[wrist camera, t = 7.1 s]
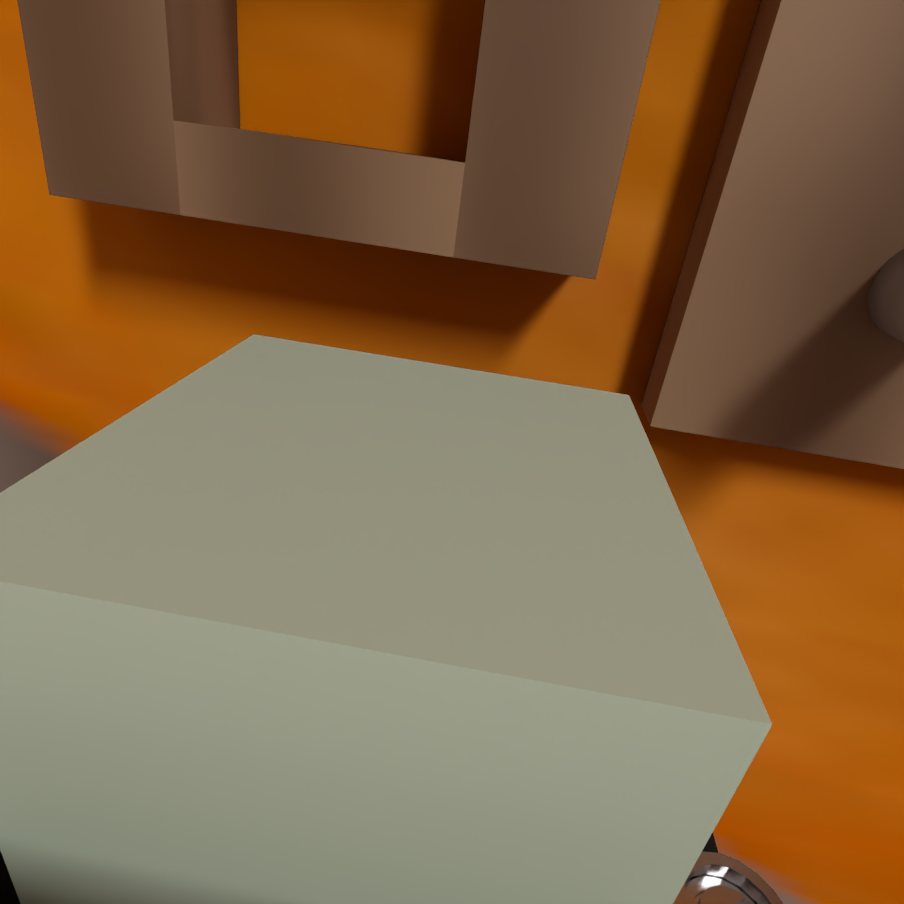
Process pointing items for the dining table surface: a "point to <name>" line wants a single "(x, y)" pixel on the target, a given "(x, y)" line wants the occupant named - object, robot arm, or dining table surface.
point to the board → (799, 246)
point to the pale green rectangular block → (361, 647)
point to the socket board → (340, 165)
